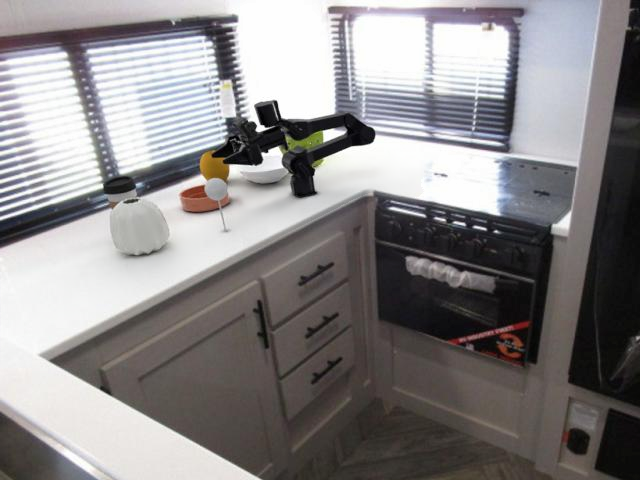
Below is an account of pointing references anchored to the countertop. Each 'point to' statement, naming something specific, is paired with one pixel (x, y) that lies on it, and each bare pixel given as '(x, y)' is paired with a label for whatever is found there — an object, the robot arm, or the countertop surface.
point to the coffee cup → (119, 190)
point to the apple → (213, 167)
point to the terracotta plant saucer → (199, 200)
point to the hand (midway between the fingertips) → (217, 159)
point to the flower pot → (306, 144)
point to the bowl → (264, 170)
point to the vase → (138, 226)
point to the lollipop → (216, 192)
